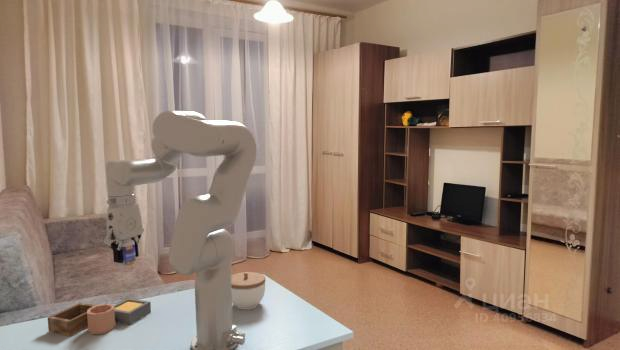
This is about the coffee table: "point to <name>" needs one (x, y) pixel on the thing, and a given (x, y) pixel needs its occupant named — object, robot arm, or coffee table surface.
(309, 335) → the coffee table surface
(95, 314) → the octagonal terracotta pot
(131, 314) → the grey square tray
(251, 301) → the lidded bowl
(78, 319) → the trough
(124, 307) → the pad
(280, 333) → the coffee table surface
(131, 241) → the pill bottle
